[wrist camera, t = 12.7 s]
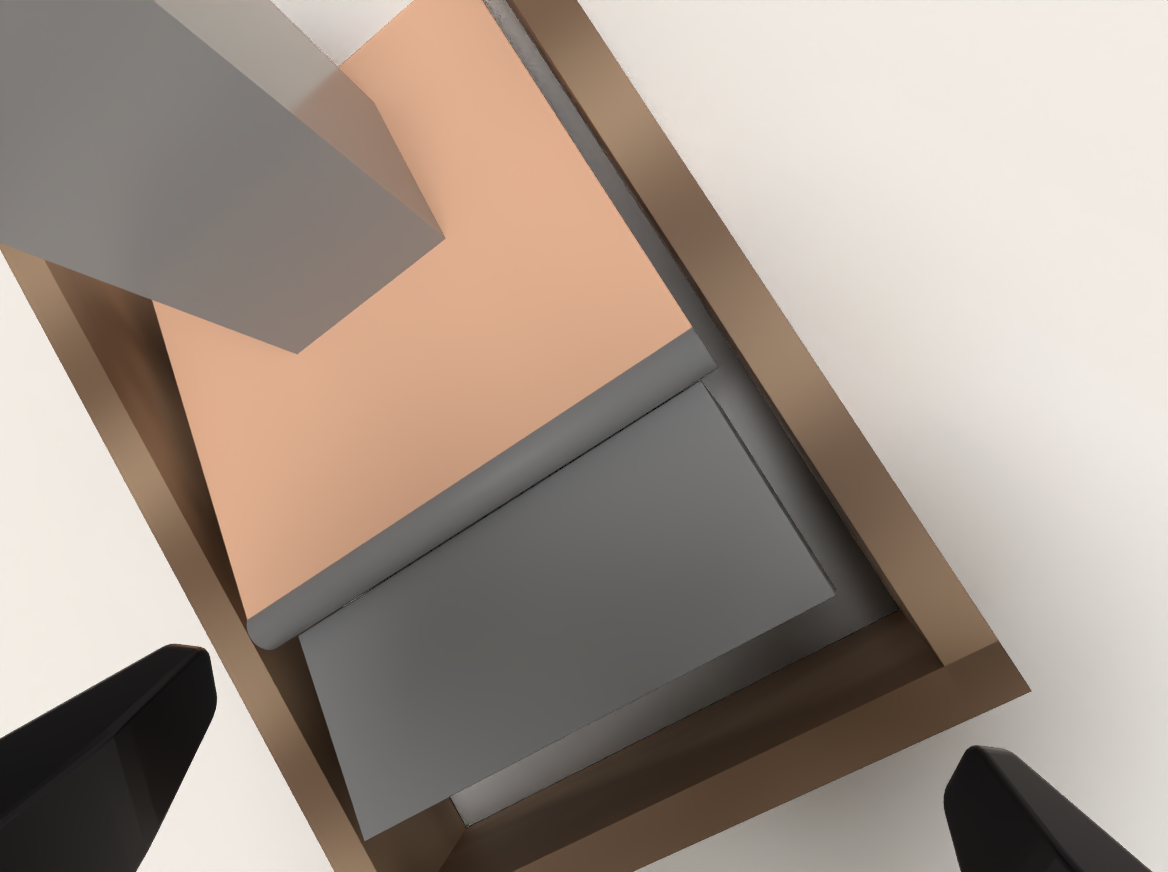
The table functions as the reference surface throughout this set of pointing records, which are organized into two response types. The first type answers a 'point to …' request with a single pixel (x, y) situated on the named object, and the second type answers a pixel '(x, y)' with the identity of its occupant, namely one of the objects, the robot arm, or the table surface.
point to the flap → (486, 454)
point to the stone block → (202, 162)
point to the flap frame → (672, 755)
